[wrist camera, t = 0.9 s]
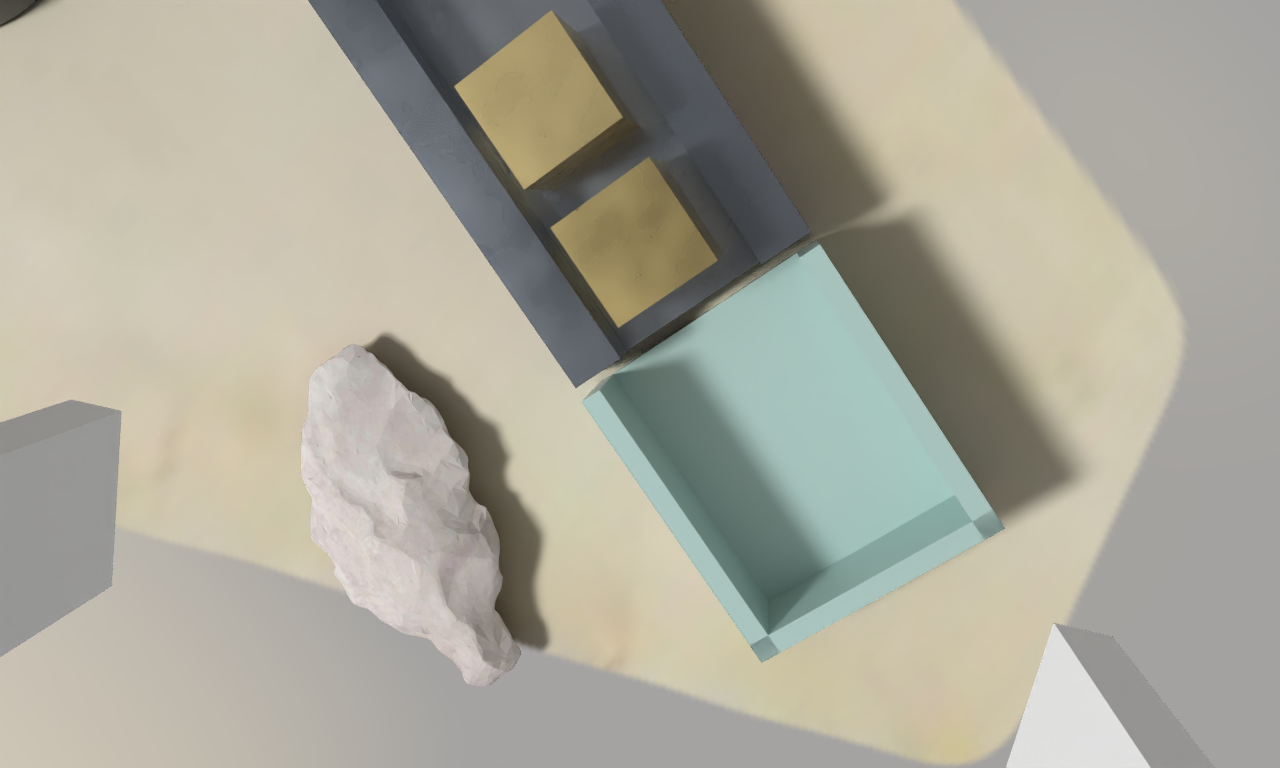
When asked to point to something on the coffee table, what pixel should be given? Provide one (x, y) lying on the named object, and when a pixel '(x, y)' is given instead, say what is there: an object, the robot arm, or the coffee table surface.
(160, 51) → the coffee table surface
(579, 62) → the chip
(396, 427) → the stone tool
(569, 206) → the slot board
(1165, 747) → the robot arm
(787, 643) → the tray
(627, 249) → the chip
